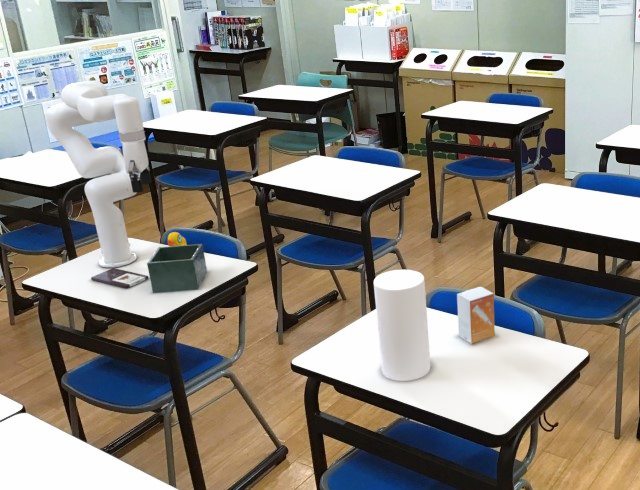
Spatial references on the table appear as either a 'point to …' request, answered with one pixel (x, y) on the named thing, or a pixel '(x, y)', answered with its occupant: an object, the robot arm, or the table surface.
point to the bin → (177, 268)
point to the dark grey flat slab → (119, 278)
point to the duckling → (176, 239)
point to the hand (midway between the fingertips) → (142, 187)
